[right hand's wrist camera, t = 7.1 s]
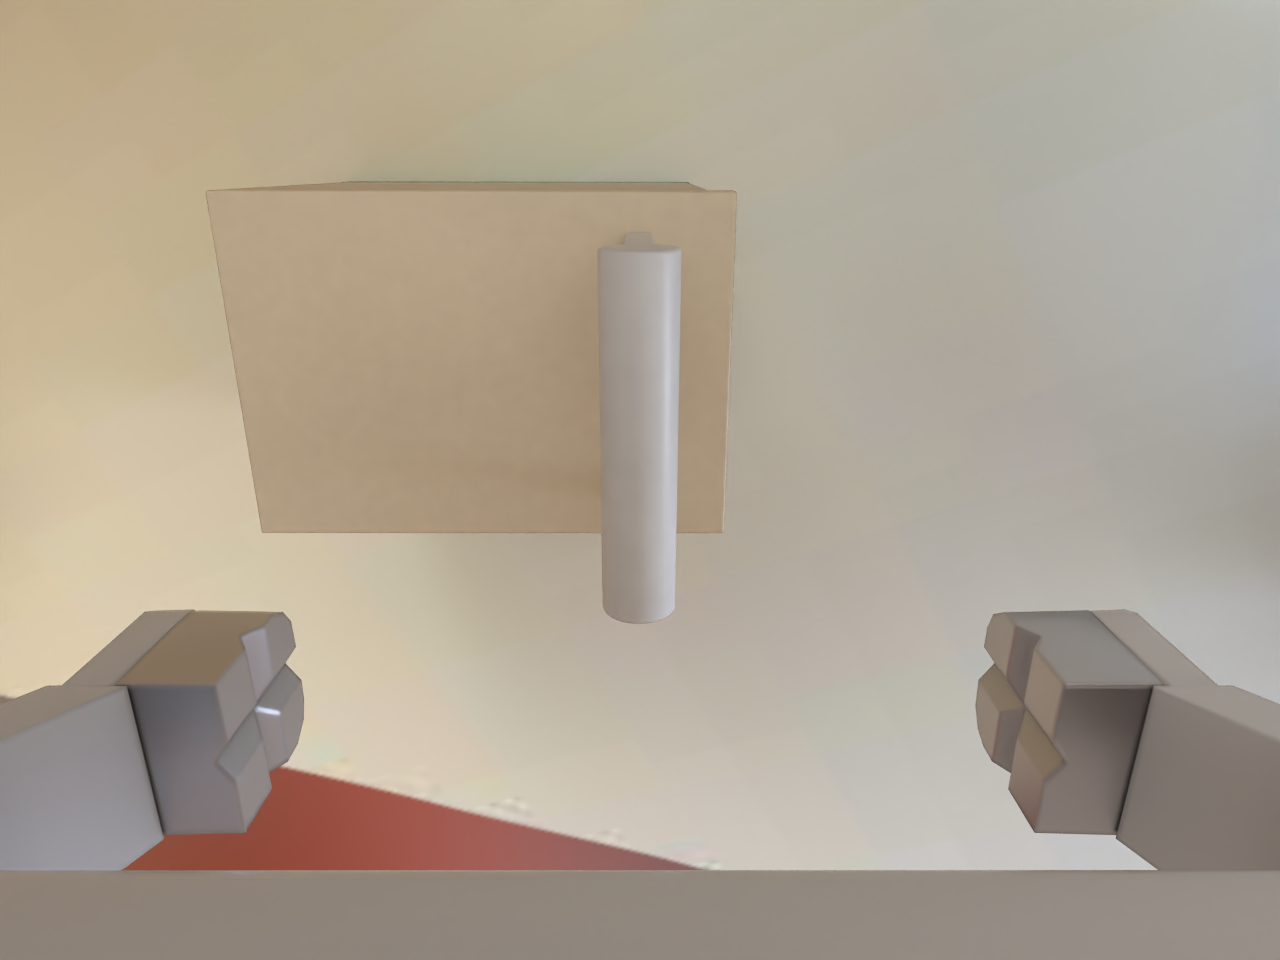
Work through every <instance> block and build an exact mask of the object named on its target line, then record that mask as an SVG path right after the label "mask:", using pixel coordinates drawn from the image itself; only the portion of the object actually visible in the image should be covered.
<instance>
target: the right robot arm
mask: <svg viewBox="0 0 1280 960" xmlns="http://www.w3.org/2000/svg"><path fill="white" fill-rule="evenodd" d="M295 647H296V644H295V639H294V634H293V629H292V624H291V621H290V620H289V619H288V617H287V616H286V615H285V614H284V613H283V612H250V611H195V610H161V611H148V612H144V613H143V614H142V615H141V616H140V617H138V618H137V619H136V620H135V621H134V622H133V623H132V624H131V625H129V626H128V627H127V628H126V629H125V630H124V631H123V632H122V633H120V634H119V635H118V636H117V637H116V638H115V639H114V640H113V641H111V642H110V643H109V644H108V645H107V646H106V647H105V648H104V649H102V650H101V651H100V652H99V653H98V654H97V655H96V656H95V657H93V658H92V659H91V660H90V661H89V662H88V663H87V664H86V665H84V666H83V667H82V668H81V669H80V670H79V671H78V672H77V673H75V674H74V675H73V676H72V677H71V678H70V679H69V680H68V681H66V682H65V683H64V684H63V685H62V686H45V687H43V688H40V689H38V690H35V691H33V692H30V693H28V694H25V695H23V696H20V697H18V698H15V699H13V700H10V701H8V702H5V703H3V704H0V960H1280V704H1277V703H1275V702H1272V701H1270V700H1267V699H1265V698H1262V697H1260V696H1257V695H1255V694H1252V693H1250V692H1247V691H1245V690H1242V689H1240V688H1237V687H1235V686H1218V685H1217V684H1216V683H1215V682H1214V681H1213V680H1211V679H1210V678H1209V677H1208V676H1207V675H1206V674H1205V673H1204V672H1202V671H1201V670H1200V669H1199V668H1198V667H1197V666H1196V665H1195V664H1193V663H1192V662H1191V661H1190V660H1189V659H1188V658H1187V657H1186V656H1184V655H1183V654H1182V653H1181V652H1180V651H1179V650H1178V649H1177V648H1176V647H1174V646H1173V645H1172V644H1171V643H1170V642H1169V641H1168V640H1167V639H1165V638H1164V637H1163V636H1162V635H1161V634H1160V633H1159V632H1158V631H1156V630H1155V629H1154V628H1153V627H1152V626H1151V625H1150V624H1149V623H1147V622H1146V621H1145V620H1144V619H1143V618H1142V617H1141V616H1140V615H1139V614H1137V613H1135V612H1132V611H1128V610H1125V609H1122V610H1100V611H1089V610H1083V611H1041V612H1004V613H998V614H993V616H992V618H991V621H990V623H989V625H988V627H987V633H986V638H985V644H984V647H985V649H986V650H987V652H988V653H989V655H990V657H991V658H992V660H993V661H994V665H993V666H992V667H991V668H990V669H989V670H988V671H987V672H986V673H985V674H984V675H983V676H982V677H981V678H980V679H979V681H978V689H977V698H976V715H977V725H978V731H979V734H980V737H981V740H982V743H983V746H984V748H985V750H986V751H987V753H988V755H989V757H990V759H991V760H992V762H994V763H996V764H997V765H999V766H1000V767H1002V768H1004V769H1005V770H1007V771H1008V772H1010V773H1011V776H1010V782H1009V788H1008V789H1009V791H1010V793H1011V794H1012V796H1013V798H1014V799H1015V801H1016V803H1017V804H1018V806H1019V808H1020V809H1021V811H1022V812H1023V814H1024V816H1025V817H1026V819H1027V821H1028V822H1029V824H1030V826H1031V827H1032V829H1033V831H1034V832H1035V833H1063V834H1100V835H1117V836H1116V839H1117V840H1119V841H1120V842H1121V843H1123V844H1124V845H1125V846H1127V847H1128V848H1129V849H1131V850H1132V851H1133V852H1135V853H1136V854H1138V855H1139V856H1140V857H1142V858H1143V859H1144V860H1146V861H1147V862H1148V863H1150V864H1151V865H1152V866H1154V867H1155V868H1156V869H1158V870H122V869H124V868H125V867H126V866H128V865H129V864H131V863H132V862H133V861H135V860H136V859H137V858H139V857H140V856H141V855H143V854H144V853H145V852H147V851H148V850H149V849H151V848H152V847H154V846H155V845H156V844H158V843H159V842H160V841H162V840H163V839H164V836H163V835H180V834H215V833H245V832H246V831H247V829H248V827H249V826H250V824H251V823H252V821H253V819H254V818H255V816H256V814H257V813H258V811H259V809H260V808H261V806H262V804H263V802H264V801H265V799H266V797H267V796H268V794H269V792H270V791H271V789H272V788H271V782H270V776H269V773H270V772H272V771H273V770H275V769H276V768H278V767H280V766H281V765H283V764H284V763H286V762H288V760H289V758H290V757H291V755H292V753H293V751H294V749H295V748H296V746H297V744H298V740H299V736H300V732H301V728H302V724H303V720H304V695H303V688H302V681H301V679H300V678H299V677H298V676H297V675H296V674H295V673H294V672H293V671H292V670H291V669H290V668H289V667H288V666H287V665H286V661H287V660H288V658H289V657H290V655H291V653H292V652H293V650H294V649H295Z"/></svg>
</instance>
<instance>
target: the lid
mask: <svg viewBox="0 0 1280 960" xmlns="http://www.w3.org/2000/svg"><path fill="white" fill-rule="evenodd" d="M206 197H207V203H208V209H209V215H210V221H211V227H212V233H213V239H214V246H215V252H216V258H217V264H218V270H219V276H220V282H221V288H222V294H223V300H224V306H225V312H226V318H227V324H228V330H229V336H230V342H231V348H232V354H233V360H234V366H235V372H236V378H237V384H238V390H239V396H240V402H241V408H242V414H243V421H244V427H245V433H246V439H247V445H248V451H249V457H250V463H251V469H252V475H253V481H254V487H255V493H256V499H257V505H258V511H259V517H260V523H261V529H262V532H263V533H602V586H603V608H604V610H605V612H606V613H607V614H608V615H609V616H610V617H612V618H614V619H616V620H619V621H622V622H626V623H634V624H644V623H652V622H656V621H659V620H662V619H664V618H666V617H668V616H669V615H670V614H671V613H672V612H673V610H674V608H675V583H676V533H723V532H724V514H725V488H726V463H727V437H728V411H729V386H730V360H731V334H732V309H733V283H734V257H735V232H736V206H737V193H736V192H735V191H731V190H208V191H206Z"/></svg>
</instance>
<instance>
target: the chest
mask: <svg viewBox="0 0 1280 960" xmlns="http://www.w3.org/2000/svg"><path fill="white" fill-rule="evenodd" d="M225 190H705V189H702V188H699V187H697V186H694V185H691V184H689V183H688V182H342V183H326V184H309V185H292V186H275V187H258V188H242V189H225Z"/></svg>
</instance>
